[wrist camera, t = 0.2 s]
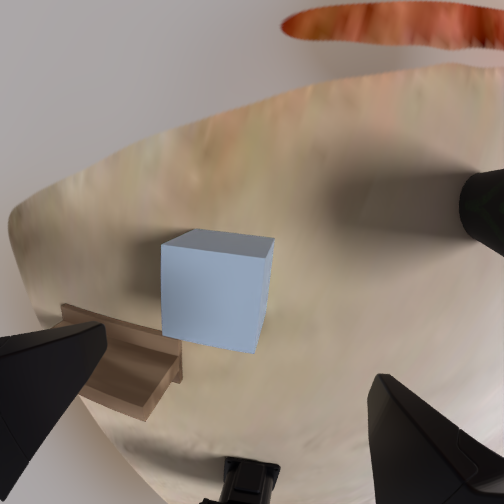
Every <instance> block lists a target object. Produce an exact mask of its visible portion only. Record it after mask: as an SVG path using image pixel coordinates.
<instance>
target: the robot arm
mask: <svg viewBox="0 0 504 504" xmlns="http://www.w3.org/2000/svg"><path fill="white" fill-rule="evenodd" d="M107 346H108V343H107V335H106V328H105V325H104V324H103V323H100V322H97V321H89V322H84V323H79V324H74V325H69V326H63V327H58V328H52V329H47V330H41V331H36V332H30V333H24V334H18V335H13V336H11V337H10V336H6V337H0V500H1V501H5V499H6V498H7V496H8V495H9V493H10V491H11V490H12V488H13V487H14V485H15V484H16V482H17V480H18V479H19V477H20V476H21V474H22V473H23V471H24V470H25V468H26V467H27V465H28V463H29V461H30V460H31V459H32V457H33V456H34V454H35V453H36V451H37V450H38V449H39V447H40V446H41V444H42V443H43V441H44V440H45V438H46V437H47V436H48V434H49V433H50V431H51V430H52V429H53V427H54V426H55V424H56V423H57V422H58V420H59V419H60V417H61V416H62V415H63V413H64V412H65V411H66V409H67V408H68V406H69V405H70V404H71V402H72V401H73V400H74V398H75V397H76V396H77V394H78V393H79V392H80V390H81V389H82V388H83V386H84V385H85V384H86V382H87V381H88V379H89V378H90V376H91V375H92V373H93V371H94V370H95V368H96V366H97V365H98V363H99V361H100V360H101V358H102V357H103V355H104V353H105V352H106V350H107ZM367 404H368V436H369V447H370V454H371V462H372V470H373V479H374V489H375V499H376V504H504V457H502V456H500V455H499V454H497V453H495V452H494V451H492V450H490V449H489V448H487V447H486V446H484V445H482V444H481V443H479V442H478V441H477V440H475V439H474V438H472V437H471V436H470V435H468V434H467V433H466V432H464V431H463V430H462V429H459V427H458V426H456V425H455V424H454V423H452V422H451V421H450V420H448V419H447V418H446V417H444V416H443V415H442V414H441V413H439V412H438V411H437V410H435V409H434V408H433V407H431V406H430V405H429V404H428V403H426V402H425V401H424V400H422V399H421V398H420V397H418V396H417V395H416V394H415V393H413V392H412V391H411V390H409V389H408V388H407V387H405V386H404V385H403V384H402V383H400V382H399V381H398V380H396V379H395V378H394V377H393V376H391V375H390V374H377V375H376V376H375V379H374V381H373V384H372V386H371V389H370V391H369V394H368V398H367ZM280 468H281V467H280V466H279V465H272V464H265V463H258V462H252V461H246V460H240V459H235V458H229V457H228V458H226V459H225V466H224V485H223V489H222V492H221V495H220V498H219V502H217V501H213V500H209V499H207V498H204V499H203V502H201V503H199V504H270V499H271V492H272V491H273V489H274V487H275V484H276V481H277V478H278V475H279V472H280Z"/></svg>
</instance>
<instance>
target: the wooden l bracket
mask: <svg viewBox="0 0 504 504" xmlns="http://www.w3.org/2000/svg"><path fill="white" fill-rule="evenodd" d="M61 310H62V316H63V321H62V322H60V323H58V324H57V325H55V326H54V327H52V328H58V327H63V326H69V325H74V324H79V323H84V322H89V321H97V322H100V323H103V324H104V325H105V328H106V335H107V343H108V346H107V350H106V352H105V353H104V355H103V357H102V358H101V360H100V361H99V363H98V365H97V366H96V368H95V370H94V371H93V373H92V375H91V376H90V378H89V379H88V381H87V382H86V384H85V385H84V386H83V388H82V389H81V390H80V392H79V393H78V394H79V395H81V396H83V397H85V398H87V399H90V400H92V401H94V402H96V403H99V404H101V405H103V406H105V407H108V408H110V409H113V410H115V411H118V412H120V413H123V414H125V415H128V416H131V417H133V418H136V419H139V420H142V421H144V422H146V420H147V419H148V417H149V416H150V414H151V412H152V411H153V409H154V408H155V406H156V405H157V403H158V402H159V400H160V399H161V397H162V396H163V394H164V392H165V391H166V389H167V388H168V386H169V385H170V383H171V382H175V383H179V384H180V383H181V381H182V379H183V376H182V343H181V340H180V339H175V338H171V337H167V336H163V335H162V331H159V330H155V329H151V328H147V327H143V326H139V325H135V324H131V323H128V322H124V321H120V320H117V319H113V318H110V317H106V316H103V315H100V314H96V313H93V312H90V311H87V310H84V309H80V308H77V307H74V306H71V305H68V304H64V305H62V306H61ZM52 328H51V329H52Z"/></svg>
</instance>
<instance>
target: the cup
mask: <svg viewBox="0 0 504 504" xmlns="http://www.w3.org/2000/svg"><path fill="white" fill-rule="evenodd" d="M459 213H460V218H461V222H462V224H463V227H464V229H465V230H466V232H467V233H468V234H469V235H470V236H471V237H472V238H474V239H476V240H477V241H479V242H481V243H482V244H484V245H486V246H487V247H489V248H491V249H492V250H494V251H495V252H497V253H499V254H500V255H502V256H503V257H504V169H500V170H495V171H489V172H484V173H478V174H475V175H473V176H471V177H470V178H469V179H468V180H467V181H466V183H465V185H464V186H463V189H462V191H461V194H460V200H459Z"/></svg>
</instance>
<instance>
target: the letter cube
mask: <svg viewBox="0 0 504 504" xmlns="http://www.w3.org/2000/svg"><path fill="white" fill-rule="evenodd" d="M274 240H275V238H270V237H261V236H253V235H245V234H237V233H229V232H220V231H212V230H203V229H194V230H192V231H189V232H187V233H185V234H183V235H181V236H178V237H176V238H174V239H172V240H170V241H168V242H165V243H163V244H161V312H162V335H163V336H167V337H171V338H175V339H180V340H184V341H189V342H193V343H198V344H203V345H208V346H213V347H218V348H223V349H228V350H234V351H239V352H245V353H251V354H254V353H255V350H256V346H257V343H258V339H259V336H260V332H261V329H262V325H263V321H264V318H265V314H266V307H267V299H268V291H269V283H270V274H271V266H272V257H273V248H274Z"/></svg>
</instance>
